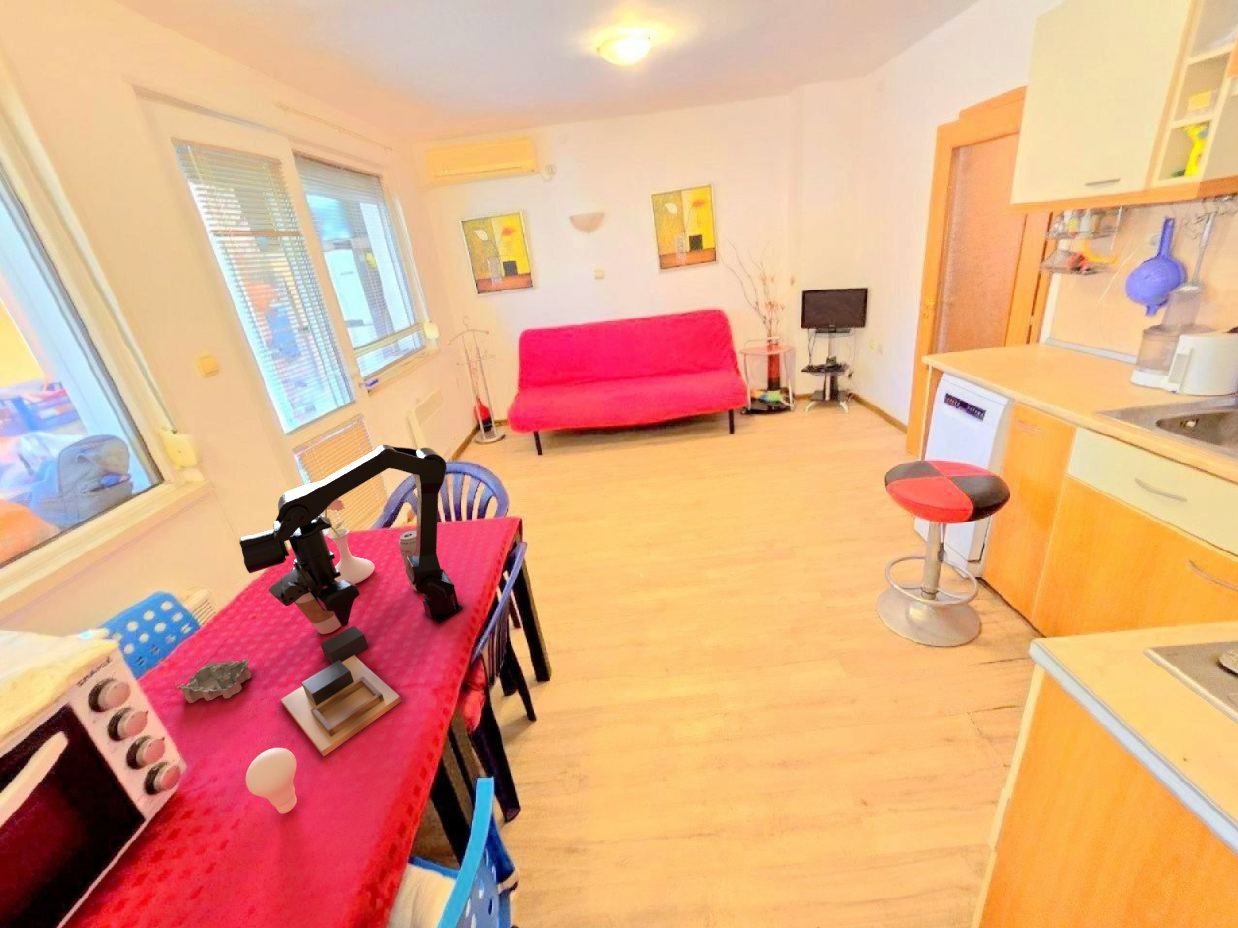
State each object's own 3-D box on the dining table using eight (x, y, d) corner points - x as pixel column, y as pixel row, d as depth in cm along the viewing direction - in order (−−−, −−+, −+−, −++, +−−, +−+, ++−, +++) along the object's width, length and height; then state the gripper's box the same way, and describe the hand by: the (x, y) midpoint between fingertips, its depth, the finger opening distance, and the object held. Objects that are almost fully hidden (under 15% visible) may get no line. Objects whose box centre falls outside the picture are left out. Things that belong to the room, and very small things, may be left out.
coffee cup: (334, 639, 112) (302, 587, 105) (304, 637, 114) (271, 587, 108) (358, 611, 119) (330, 561, 112) (330, 610, 121) (300, 561, 115)
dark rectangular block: (357, 637, 112) (353, 625, 111) (368, 646, 109) (364, 633, 108) (325, 656, 107) (320, 643, 106) (335, 666, 104) (330, 653, 103)
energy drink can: (438, 586, 128) (425, 534, 123) (414, 595, 125) (399, 543, 120) (432, 576, 133) (419, 526, 128) (408, 585, 130) (394, 534, 125)
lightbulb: (277, 837, 72) (251, 784, 68) (257, 816, 76) (231, 764, 72) (319, 800, 77) (297, 748, 73) (299, 782, 80) (276, 731, 76)
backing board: (355, 659, 106) (349, 643, 104) (401, 701, 94) (396, 683, 93) (282, 703, 96) (274, 687, 94) (323, 756, 84) (316, 738, 83)
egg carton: (179, 705, 98) (170, 689, 96) (207, 675, 105) (199, 660, 103) (234, 699, 98) (226, 683, 96) (258, 670, 105) (251, 655, 103)
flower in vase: (385, 572, 137) (360, 488, 127) (344, 595, 128) (314, 507, 119) (357, 561, 143) (332, 481, 134) (317, 582, 135) (287, 498, 126)
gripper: (249, 558, 99) (276, 622, 105) (284, 588, 88) (312, 659, 94) (309, 533, 107) (331, 594, 113) (349, 558, 96) (370, 625, 101)
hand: (335, 617), depth 105 cm, fingers open, 9 cm apart
